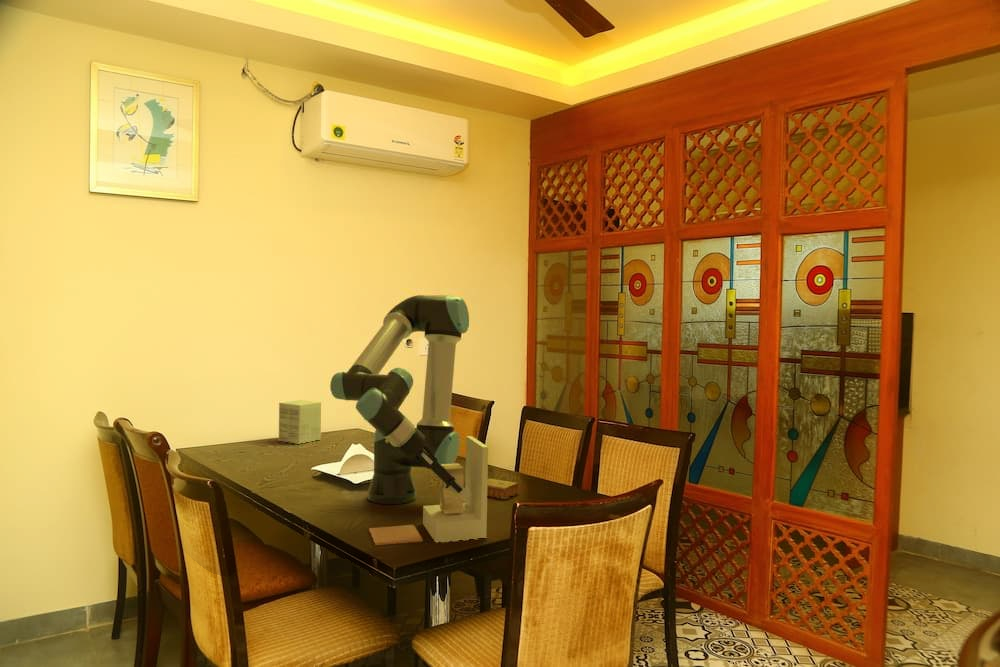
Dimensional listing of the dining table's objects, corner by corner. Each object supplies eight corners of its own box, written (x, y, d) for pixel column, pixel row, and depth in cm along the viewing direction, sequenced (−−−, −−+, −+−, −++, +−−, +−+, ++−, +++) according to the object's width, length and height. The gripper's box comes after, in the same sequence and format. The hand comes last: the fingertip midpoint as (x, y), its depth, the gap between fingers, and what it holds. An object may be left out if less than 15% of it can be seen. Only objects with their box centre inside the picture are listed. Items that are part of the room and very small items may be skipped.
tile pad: (369, 530, 179) (369, 528, 179) (413, 526, 182) (413, 524, 182) (375, 545, 167) (375, 543, 167) (422, 541, 171) (422, 539, 171)
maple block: (439, 508, 181) (440, 464, 181) (457, 506, 183) (458, 463, 182) (444, 514, 176) (445, 468, 176) (462, 512, 178) (463, 467, 177)
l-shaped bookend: (422, 523, 185) (424, 437, 185) (469, 520, 189) (471, 436, 189) (435, 542, 170) (437, 449, 169) (486, 538, 174) (488, 447, 174)
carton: (505, 501, 211) (505, 487, 211) (463, 493, 220) (463, 480, 219) (518, 495, 218) (518, 482, 218) (477, 487, 227) (477, 475, 226)
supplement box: (300, 437, 308) (300, 399, 308) (321, 440, 302) (321, 402, 301) (277, 441, 297) (278, 402, 296) (299, 445, 290) (299, 405, 290)
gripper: (389, 441, 183) (446, 496, 188) (401, 455, 165) (464, 516, 171) (409, 421, 184) (465, 476, 190) (422, 433, 167) (484, 494, 172)
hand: (464, 495), depth 180 cm, fingers closed on maple block, 5 cm apart
